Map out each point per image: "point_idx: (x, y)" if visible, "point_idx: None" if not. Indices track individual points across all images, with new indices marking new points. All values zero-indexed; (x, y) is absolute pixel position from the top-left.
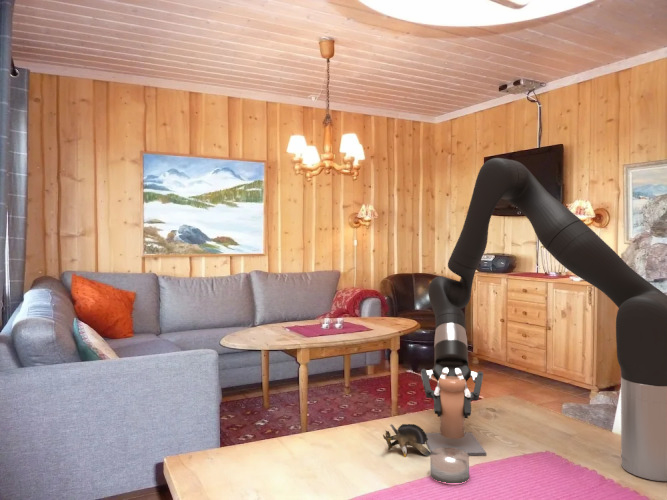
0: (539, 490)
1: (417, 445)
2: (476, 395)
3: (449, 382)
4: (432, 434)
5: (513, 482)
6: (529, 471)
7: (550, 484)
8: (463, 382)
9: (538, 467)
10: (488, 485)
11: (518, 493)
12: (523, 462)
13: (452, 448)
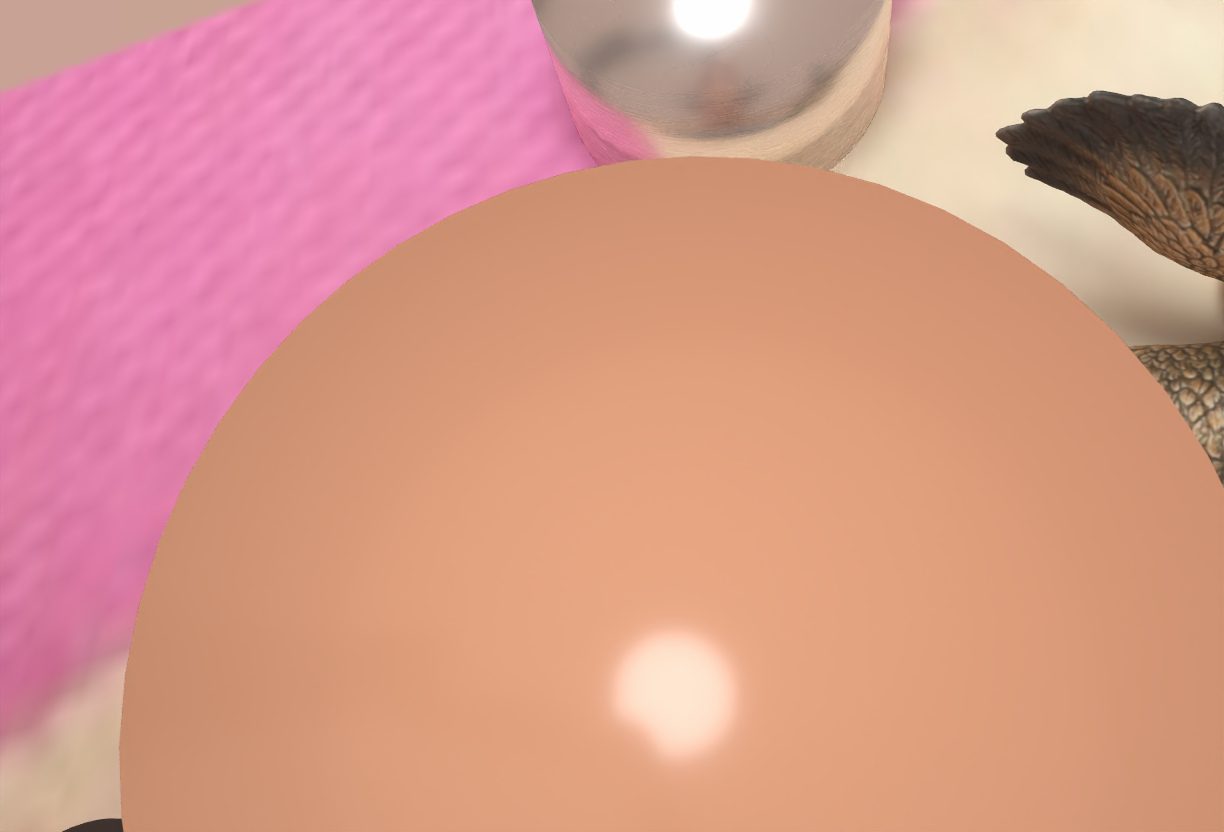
0: (110, 96)
1: (1148, 359)
2: (110, 827)
3: (715, 236)
4: None
5: (254, 141)
6: (95, 356)
7: (12, 201)
8: (233, 411)
9: (4, 454)
10: (433, 39)
11: (251, 12)
12: (97, 517)
13: (691, 77)
